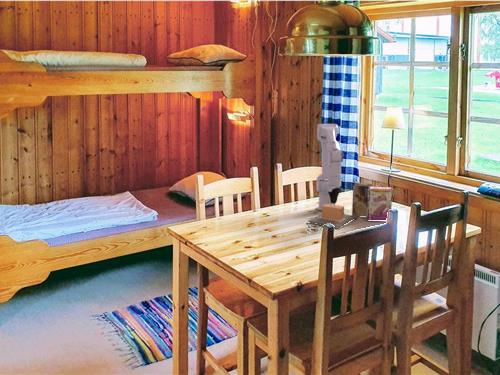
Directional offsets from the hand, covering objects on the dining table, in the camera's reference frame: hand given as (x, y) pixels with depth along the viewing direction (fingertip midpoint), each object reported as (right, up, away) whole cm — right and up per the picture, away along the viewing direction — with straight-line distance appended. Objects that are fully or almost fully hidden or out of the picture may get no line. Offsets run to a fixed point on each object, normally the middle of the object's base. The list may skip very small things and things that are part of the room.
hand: (333, 203), depth 272 cm
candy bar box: (+22, -9, +3) cm, 24 cm away
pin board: (0, -9, +2) cm, 9 cm away
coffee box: (+16, -7, +11) cm, 20 cm away
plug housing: (0, -7, +2) cm, 8 cm away
